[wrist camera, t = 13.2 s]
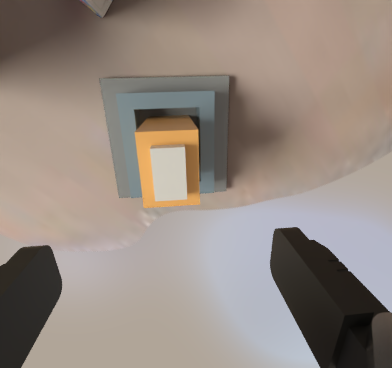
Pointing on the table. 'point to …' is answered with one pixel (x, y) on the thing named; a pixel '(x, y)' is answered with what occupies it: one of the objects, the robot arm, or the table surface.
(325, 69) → the table surface
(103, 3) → the ink cartridge box
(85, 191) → the table surface
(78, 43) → the table surface
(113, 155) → the holder
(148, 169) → the connector plug
